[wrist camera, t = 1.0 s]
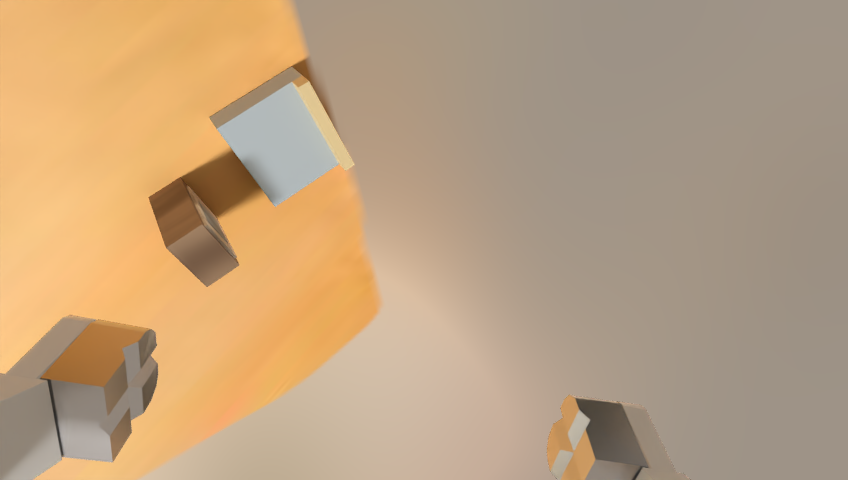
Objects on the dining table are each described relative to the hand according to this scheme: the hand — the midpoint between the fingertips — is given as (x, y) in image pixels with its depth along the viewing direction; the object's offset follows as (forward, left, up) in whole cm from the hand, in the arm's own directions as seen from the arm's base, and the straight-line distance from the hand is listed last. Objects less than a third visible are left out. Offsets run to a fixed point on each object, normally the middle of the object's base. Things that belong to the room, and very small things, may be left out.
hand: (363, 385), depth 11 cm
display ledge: (+13, +7, -37) cm, 40 cm away
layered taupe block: (+16, -3, -38) cm, 41 cm away
